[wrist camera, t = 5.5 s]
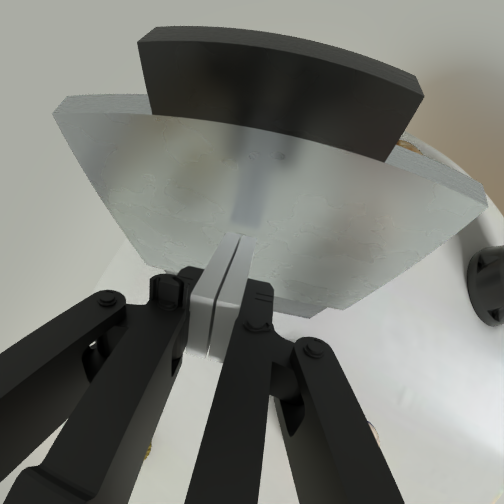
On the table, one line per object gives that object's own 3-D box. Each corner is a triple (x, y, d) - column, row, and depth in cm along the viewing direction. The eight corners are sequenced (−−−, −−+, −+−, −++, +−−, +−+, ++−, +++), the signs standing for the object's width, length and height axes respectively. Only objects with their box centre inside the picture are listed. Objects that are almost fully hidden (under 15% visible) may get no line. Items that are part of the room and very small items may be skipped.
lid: (521, 141, 6) (533, 165, 6) (344, 297, 25) (343, 310, 25) (47, 44, 6) (28, 61, 6) (151, 253, 26) (146, 265, 25)
